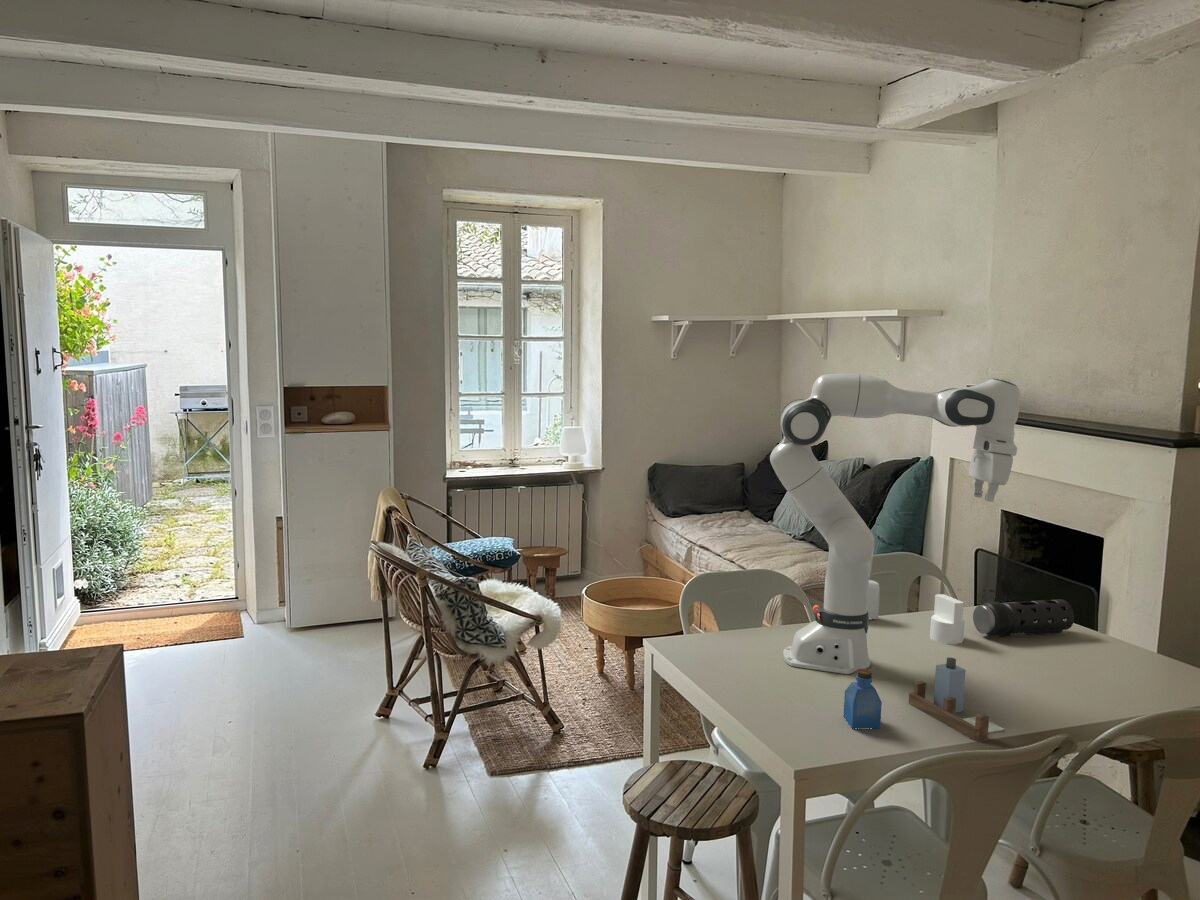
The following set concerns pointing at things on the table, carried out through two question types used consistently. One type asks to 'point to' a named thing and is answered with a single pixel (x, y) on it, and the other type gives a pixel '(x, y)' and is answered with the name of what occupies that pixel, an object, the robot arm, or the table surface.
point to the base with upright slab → (947, 620)
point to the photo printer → (873, 600)
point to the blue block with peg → (949, 683)
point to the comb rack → (952, 714)
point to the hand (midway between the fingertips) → (982, 499)
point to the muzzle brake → (1023, 617)
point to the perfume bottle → (862, 702)
